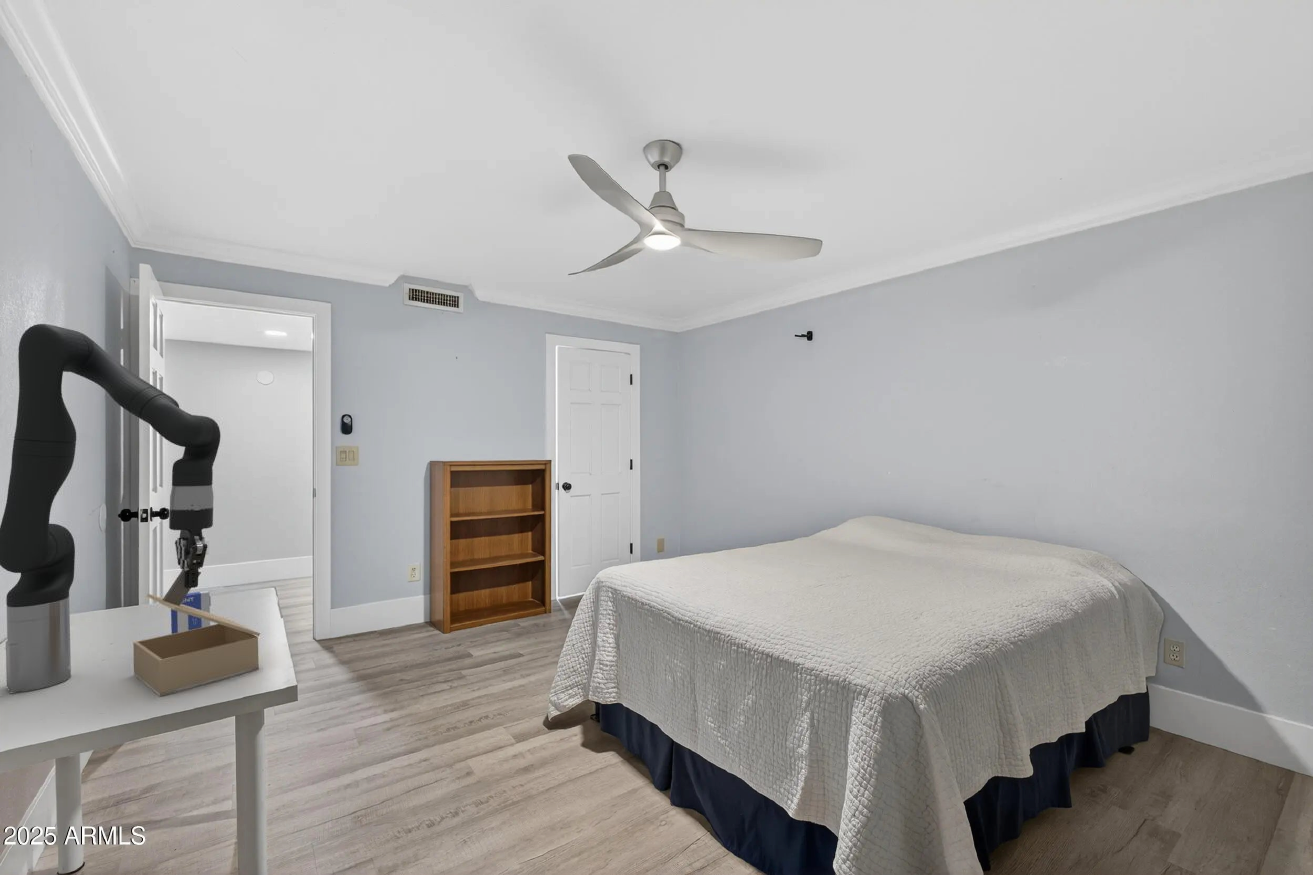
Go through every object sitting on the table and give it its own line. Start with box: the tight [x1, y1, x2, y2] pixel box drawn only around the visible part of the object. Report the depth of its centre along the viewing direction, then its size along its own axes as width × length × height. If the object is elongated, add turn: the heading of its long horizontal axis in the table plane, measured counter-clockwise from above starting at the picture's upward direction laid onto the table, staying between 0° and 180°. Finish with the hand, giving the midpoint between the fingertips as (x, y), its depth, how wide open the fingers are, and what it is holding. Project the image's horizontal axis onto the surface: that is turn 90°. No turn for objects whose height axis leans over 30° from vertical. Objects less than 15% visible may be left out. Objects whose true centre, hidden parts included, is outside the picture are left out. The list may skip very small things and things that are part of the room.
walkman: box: [170, 590, 212, 634], centre depth 154 cm, size 8×3×12 cm, turn 134°
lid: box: [146, 567, 261, 637], centre depth 133 cm, size 17×20×8 cm
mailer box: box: [132, 623, 260, 697], centre depth 131 cm, size 17×20×7 cm
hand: (189, 586), depth 130 cm, fingers closed
